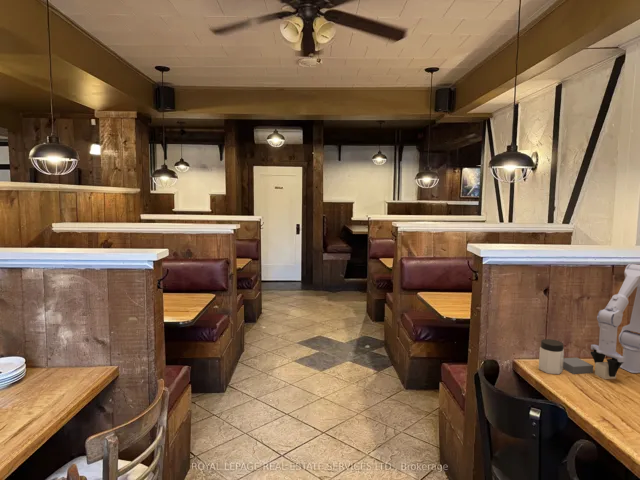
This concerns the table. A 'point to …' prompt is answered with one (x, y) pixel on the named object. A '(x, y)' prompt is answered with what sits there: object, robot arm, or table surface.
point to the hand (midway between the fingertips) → (605, 372)
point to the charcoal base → (577, 366)
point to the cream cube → (603, 370)
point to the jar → (551, 356)
